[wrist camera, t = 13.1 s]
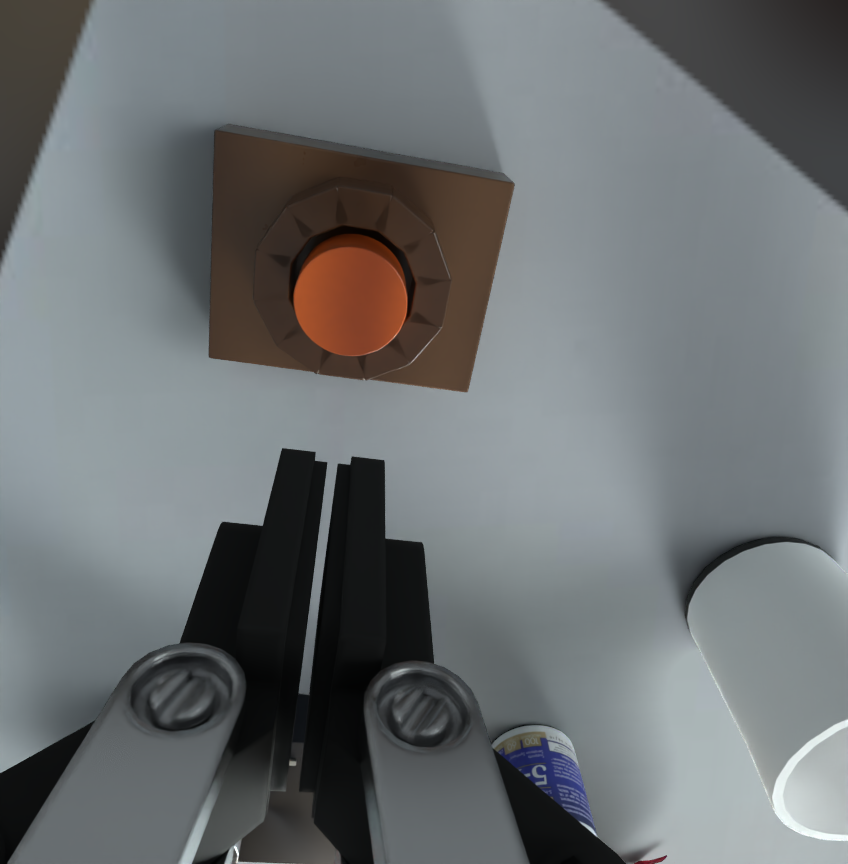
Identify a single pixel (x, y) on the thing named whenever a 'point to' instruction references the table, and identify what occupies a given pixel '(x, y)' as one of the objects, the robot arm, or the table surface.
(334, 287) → the button
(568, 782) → the pill bottle
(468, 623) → the table surface
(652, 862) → the decorative bird figurine
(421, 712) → the robot arm
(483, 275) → the button block
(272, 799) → the panel
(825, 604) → the mug
